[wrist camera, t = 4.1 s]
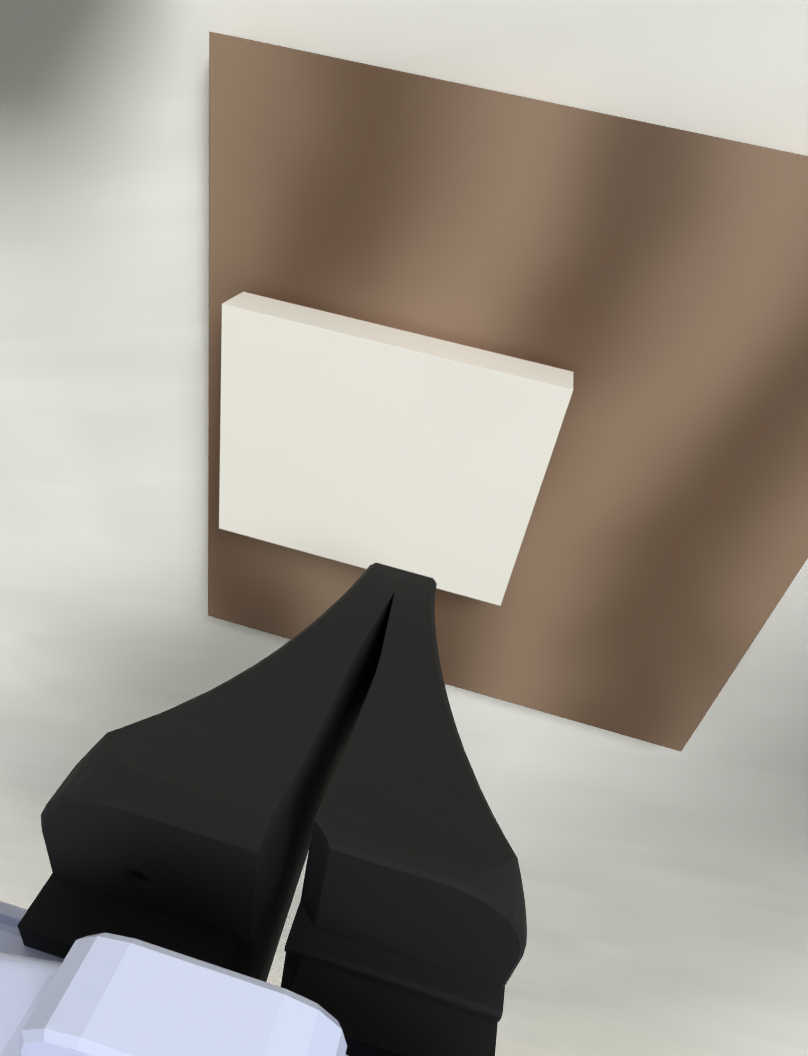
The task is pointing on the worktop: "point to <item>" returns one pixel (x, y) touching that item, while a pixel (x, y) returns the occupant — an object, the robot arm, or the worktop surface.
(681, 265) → the walnut board
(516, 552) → the glazed tile
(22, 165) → the worktop surface
